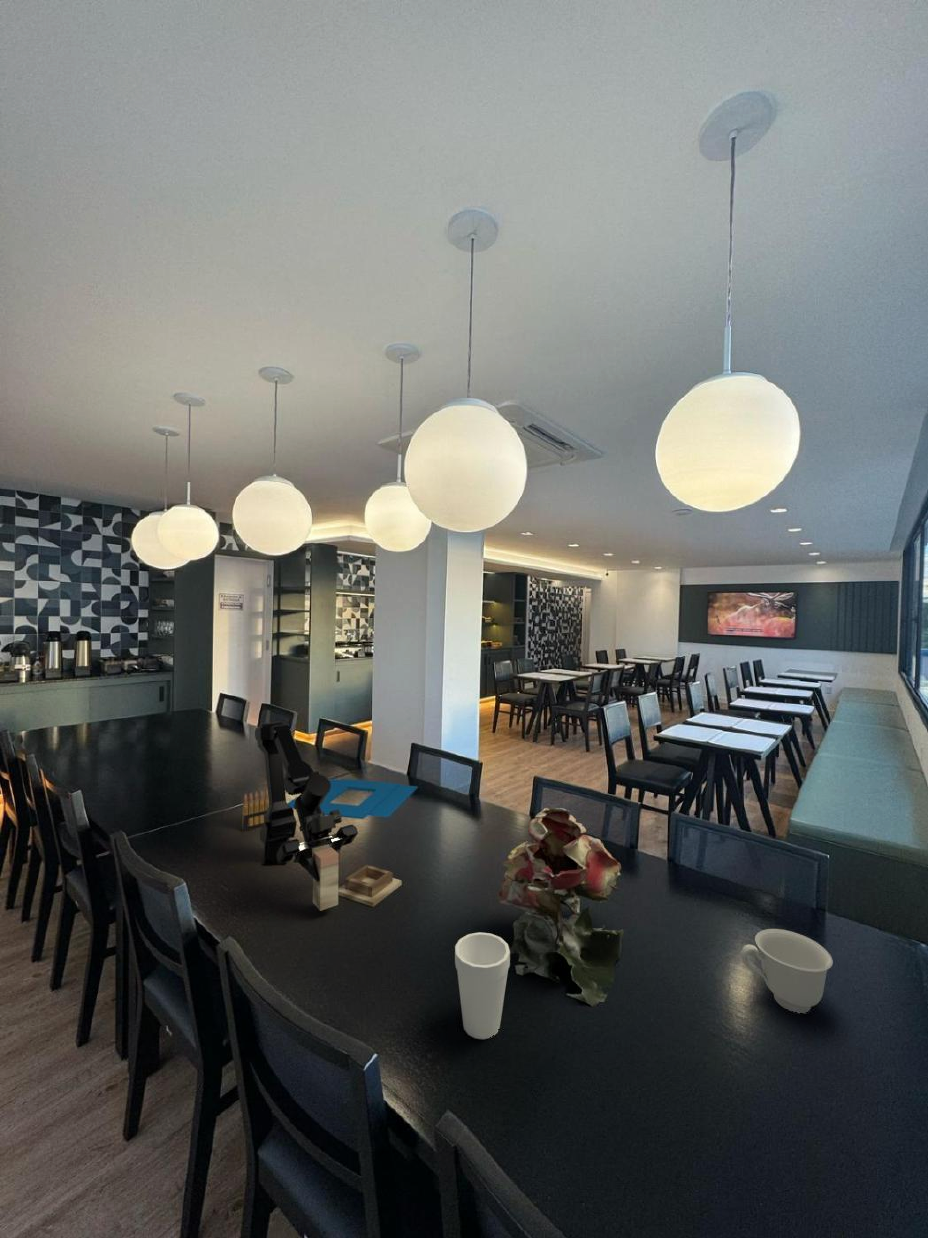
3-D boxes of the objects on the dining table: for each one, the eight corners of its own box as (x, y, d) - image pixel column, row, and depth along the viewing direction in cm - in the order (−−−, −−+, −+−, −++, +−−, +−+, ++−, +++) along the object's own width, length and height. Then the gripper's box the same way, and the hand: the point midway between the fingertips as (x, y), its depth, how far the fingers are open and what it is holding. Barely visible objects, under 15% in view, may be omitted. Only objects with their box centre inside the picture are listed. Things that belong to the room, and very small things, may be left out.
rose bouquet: (627, 925, 118) (628, 795, 118) (609, 1015, 91) (611, 846, 91) (520, 900, 128) (521, 780, 128) (475, 974, 101) (477, 822, 101)
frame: (417, 789, 212) (417, 784, 212) (384, 825, 177) (384, 820, 177) (326, 781, 222) (326, 776, 222) (277, 814, 186) (277, 808, 186)
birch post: (312, 902, 122) (313, 852, 122) (330, 896, 124) (330, 847, 124) (320, 911, 118) (320, 859, 118) (338, 904, 121) (338, 853, 121)
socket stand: (335, 894, 130) (335, 880, 130) (365, 873, 140) (365, 860, 140) (373, 907, 124) (373, 892, 124) (401, 884, 135) (401, 871, 135)
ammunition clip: (242, 831, 167) (243, 795, 167) (241, 830, 168) (241, 793, 168) (275, 823, 174) (276, 788, 174) (273, 821, 175) (273, 786, 175)
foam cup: (452, 1005, 93) (453, 933, 93) (503, 1002, 94) (504, 931, 94) (456, 1049, 83) (457, 969, 83) (512, 1045, 84) (513, 966, 84)
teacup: (728, 975, 101) (728, 925, 101) (808, 982, 100) (808, 930, 100) (756, 1023, 89) (757, 966, 89) (847, 1031, 88) (848, 973, 88)
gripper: (281, 808, 118) (298, 875, 110) (355, 792, 130) (375, 851, 121) (269, 831, 125) (284, 896, 116) (341, 813, 136) (360, 871, 128)
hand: (328, 878), depth 120 cm, fingers closed on birch post, 4 cm apart
